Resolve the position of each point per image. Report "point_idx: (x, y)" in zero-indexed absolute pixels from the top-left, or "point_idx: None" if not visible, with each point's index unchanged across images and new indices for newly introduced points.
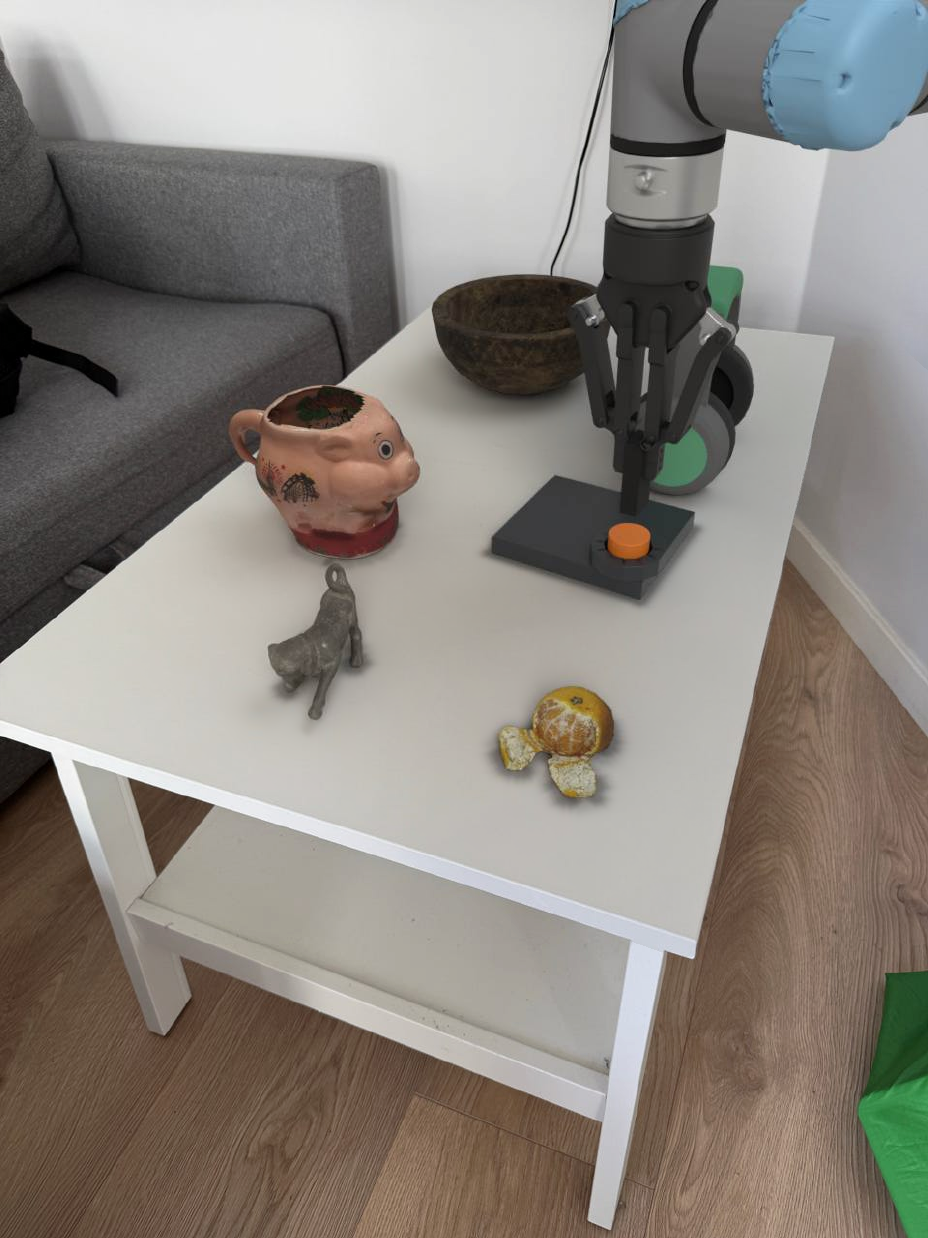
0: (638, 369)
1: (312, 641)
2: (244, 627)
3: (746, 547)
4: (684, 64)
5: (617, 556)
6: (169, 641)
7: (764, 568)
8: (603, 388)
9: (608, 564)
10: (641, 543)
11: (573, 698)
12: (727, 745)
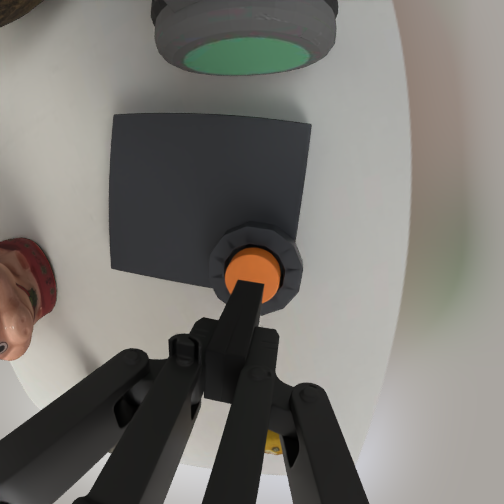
0: (155, 494)
1: (114, 446)
2: (61, 374)
3: (380, 149)
4: None
5: None
6: (49, 385)
7: (404, 187)
8: (108, 441)
9: None
10: (272, 296)
11: (273, 448)
12: (373, 406)
